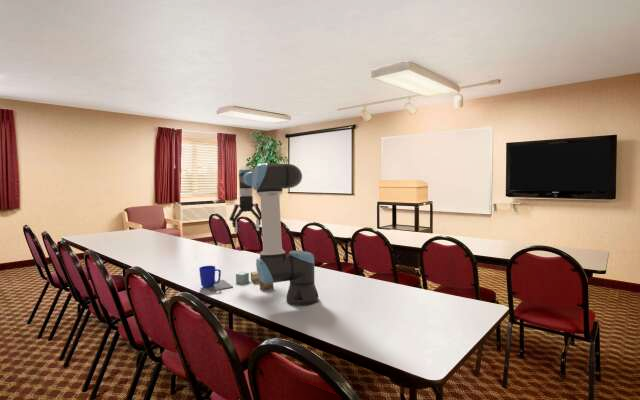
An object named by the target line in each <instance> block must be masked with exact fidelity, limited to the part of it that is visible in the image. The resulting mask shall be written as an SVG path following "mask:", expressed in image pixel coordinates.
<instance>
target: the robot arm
mask: <svg viewBox="0 0 640 400" xmlns="http://www.w3.org/2000/svg"><path fill="white" fill-rule="evenodd" d="M302 179H303V173H302V171H301V169H300V168H299V167H298V166H297V165H294V164H291V163H275V162H274V163H271V162H270V163H268V162H266V163H257V165H255V167H254V169H253V171H252V169H251V168H250V169H249V168H240V169H239V170H238V185H239V189H238V190H239V195H240V196H239V204H236V203H235V204H234V206H233V209H232V212H231V214H230V217H229V218H228V219H229V221H230V222H232V228H233V229H234V231H233V232H234V234H235V233H236V234H238V219H239V218H240V216H241V215H242V213H244V212H245V213H246V212H251V214H252V215H253V216H254V217H255V218H256V220H255V225H256V226H255V230H256V231H257V232H259V231H260V226H261V235H262V237H261V238H262V251H261V252H260V253H259V257H258V258H256V262H255V267H256V271H257V272H258V276H259V278H260V280H261V282H263V283H265V284H267V283H273V284H274V283H282V282H288V281H289V286H288V290H287V293H286V296H285V299H286V303H287V304H289V305H291V306H292V305H293V306H297V307H298V306H299V307H303V306H304V307H305V306H306V307H307V306H311V305H314V304H317V303H318V302H319V294H318V290H317V288H316V284H315V256H314V254H313V253H311V252H309V251H304V250H290V251H289V252H288V255H287V253H286V251H285V250H284V249H283V244H282V243H283V242H282V227H281V226H282V224H281V223H282V221H281V204H280V196H281V195H282V194H283V189H286V190H287V189H291V188H292V189H293V188H295V187H297V186H299V184H301V182H302ZM254 190H256V194H257V196H259V198H260V208H259V204H258V203H257V202H255V203H254V198H253V191H254ZM253 207H254V208H255V210H254V208H253ZM239 208H240V209H239ZM238 209H239V210H238Z"/></svg>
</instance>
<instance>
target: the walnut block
mask: <svg viewBox="0 0 640 400" xmlns="http://www.w3.org/2000/svg"><path fill="white" fill-rule="evenodd" d="M259 289H260V290H263V291H269V290H272V289H274V283H267V284H265V283H263V282H261V280H260V282H259Z"/></svg>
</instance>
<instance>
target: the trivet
mask: <svg viewBox="0 0 640 400" xmlns="http://www.w3.org/2000/svg"><path fill="white" fill-rule="evenodd" d="M215 282H218V280H215ZM231 288H232V289H233V288H234V286H233V285H231V284H230V283H229V282H227V281H226V280H225V279H220V281H219V283H217V284H215V283H214V285H213V286H211V287H205V289H207V290H208V291H209V292H211V293H212V292H216V291H222V290H226V289H231Z"/></svg>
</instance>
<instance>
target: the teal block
mask: <svg viewBox="0 0 640 400" xmlns="http://www.w3.org/2000/svg"><path fill="white" fill-rule="evenodd" d="M249 275H250V273H249V272H248V271H246V272H245V271H240V272H238V273H235V283H236V284H243V285H244V284H246V283H248V282H249V281H250V277H249Z"/></svg>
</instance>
